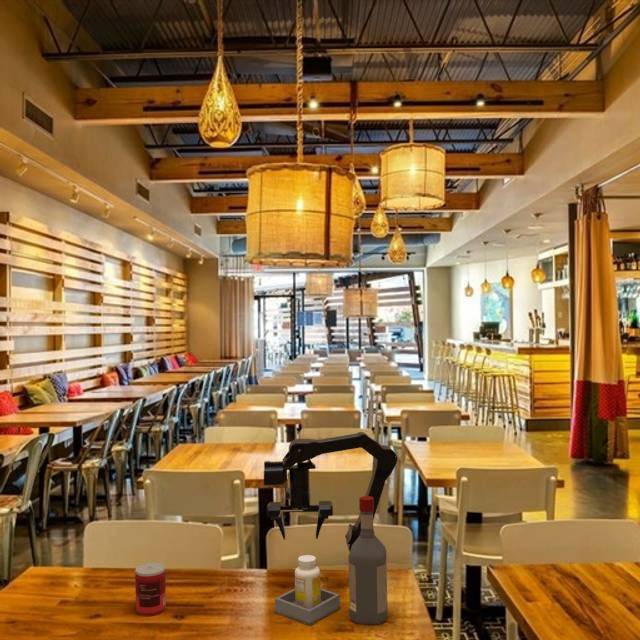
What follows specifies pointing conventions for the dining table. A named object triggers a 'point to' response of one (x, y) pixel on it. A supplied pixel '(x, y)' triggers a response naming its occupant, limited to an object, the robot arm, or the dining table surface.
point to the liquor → (367, 571)
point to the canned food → (150, 589)
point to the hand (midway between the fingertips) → (300, 538)
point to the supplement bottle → (307, 582)
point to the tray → (308, 616)
